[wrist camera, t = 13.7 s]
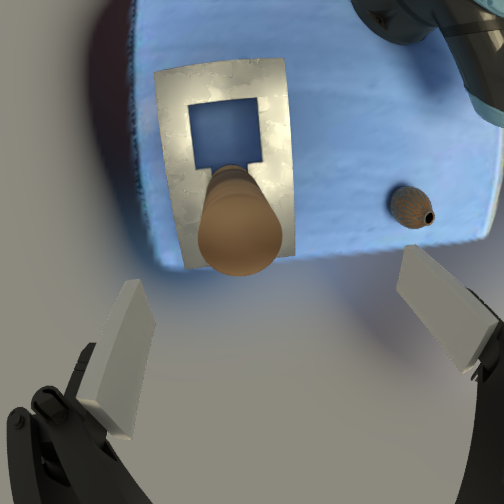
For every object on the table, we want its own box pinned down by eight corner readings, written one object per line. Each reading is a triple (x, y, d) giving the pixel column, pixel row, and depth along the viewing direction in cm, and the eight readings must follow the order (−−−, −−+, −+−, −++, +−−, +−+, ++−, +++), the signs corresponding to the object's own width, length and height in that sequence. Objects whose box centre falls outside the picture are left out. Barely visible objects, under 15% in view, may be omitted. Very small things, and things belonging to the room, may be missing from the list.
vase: (379, 215, 43) (407, 236, 36) (390, 178, 40) (421, 192, 33) (407, 221, 45) (435, 241, 37) (417, 187, 42) (449, 202, 34)
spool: (204, 166, 33) (190, 204, 18) (252, 160, 33) (280, 193, 18) (211, 210, 36) (205, 280, 20) (256, 205, 36) (283, 270, 21)
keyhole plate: (168, 83, 31) (153, 72, 23) (269, 72, 32) (284, 58, 24) (191, 240, 42) (185, 269, 34) (280, 229, 42) (295, 255, 34)
